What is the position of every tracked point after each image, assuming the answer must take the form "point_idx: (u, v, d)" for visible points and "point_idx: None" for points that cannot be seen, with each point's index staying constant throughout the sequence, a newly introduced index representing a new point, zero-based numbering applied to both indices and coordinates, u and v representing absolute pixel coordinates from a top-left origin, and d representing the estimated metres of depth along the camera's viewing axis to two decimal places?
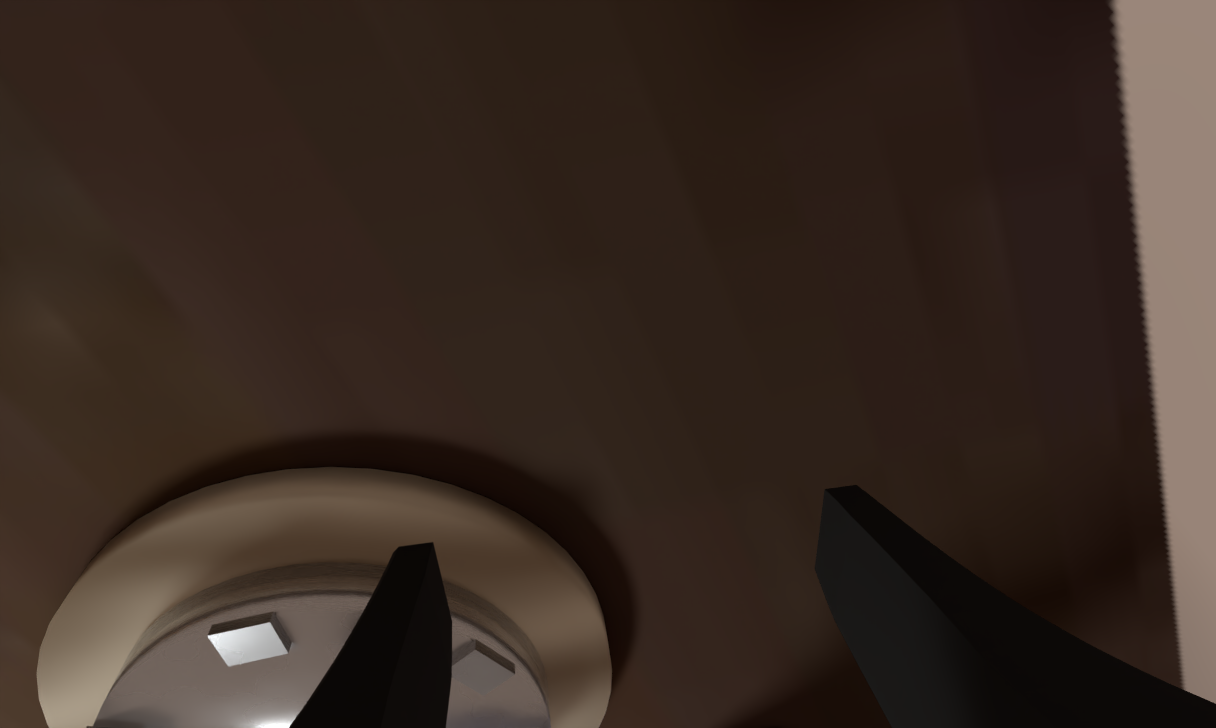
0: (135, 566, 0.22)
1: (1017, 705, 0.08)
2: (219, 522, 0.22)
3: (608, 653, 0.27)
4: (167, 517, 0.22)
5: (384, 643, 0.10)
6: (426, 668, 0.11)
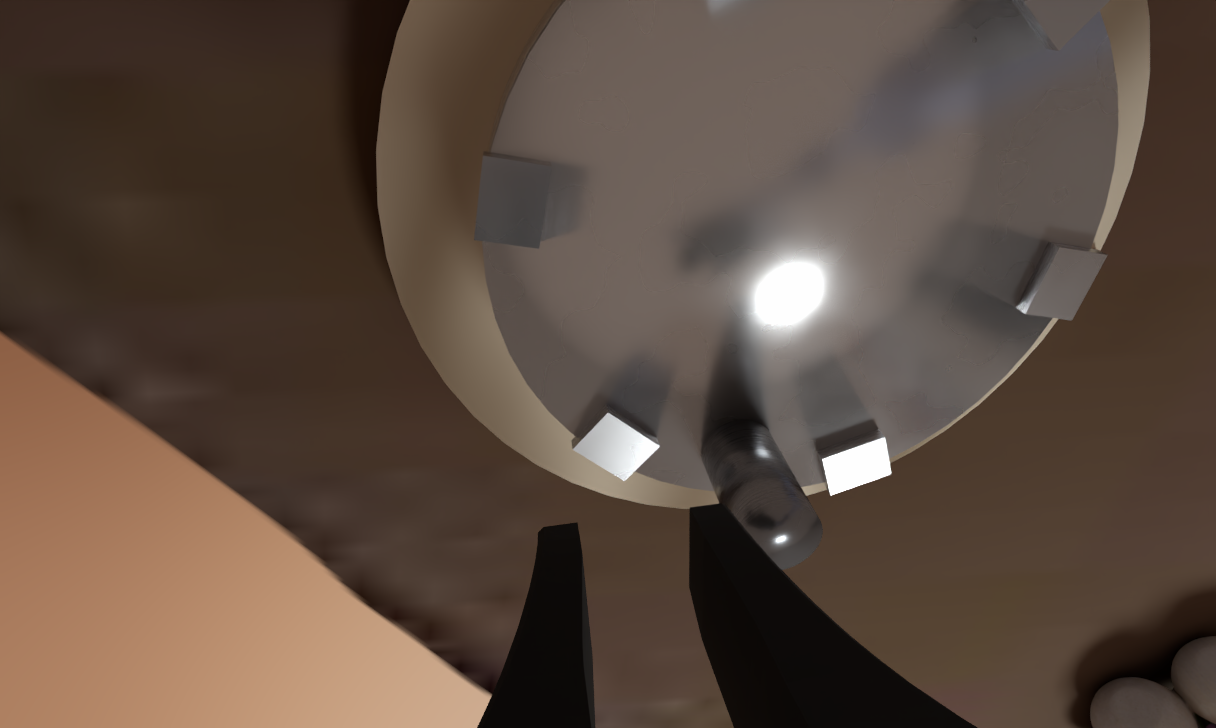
0: (428, 299, 0.19)
1: None
2: (396, 178, 0.17)
3: None
4: None
5: (563, 617, 0.10)
6: (587, 644, 0.11)
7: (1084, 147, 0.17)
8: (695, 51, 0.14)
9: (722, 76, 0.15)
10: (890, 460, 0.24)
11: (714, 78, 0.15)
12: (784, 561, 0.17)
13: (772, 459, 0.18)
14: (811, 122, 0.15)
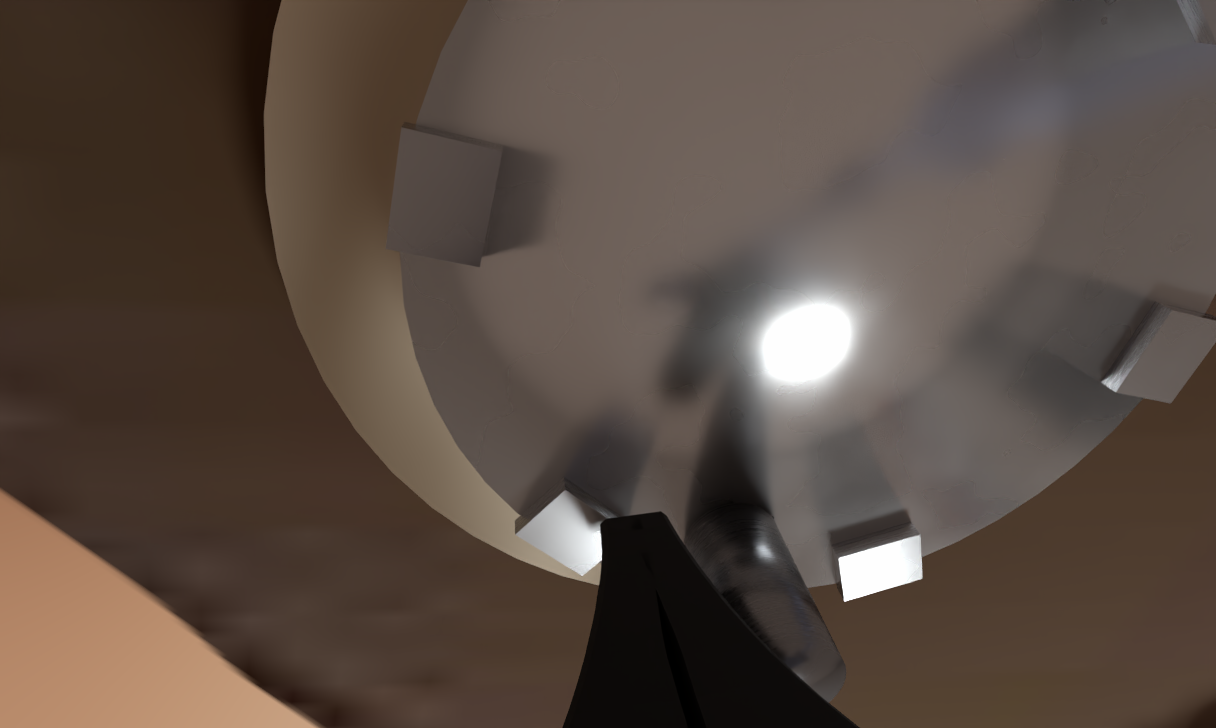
0: (335, 321, 0.14)
1: None
2: (292, 154, 0.12)
3: None
4: None
5: (639, 606, 0.10)
6: None
7: None
8: (720, 0, 0.10)
9: (755, 41, 0.10)
10: None
11: (744, 43, 0.10)
12: None
13: (780, 566, 0.13)
14: (871, 118, 0.11)
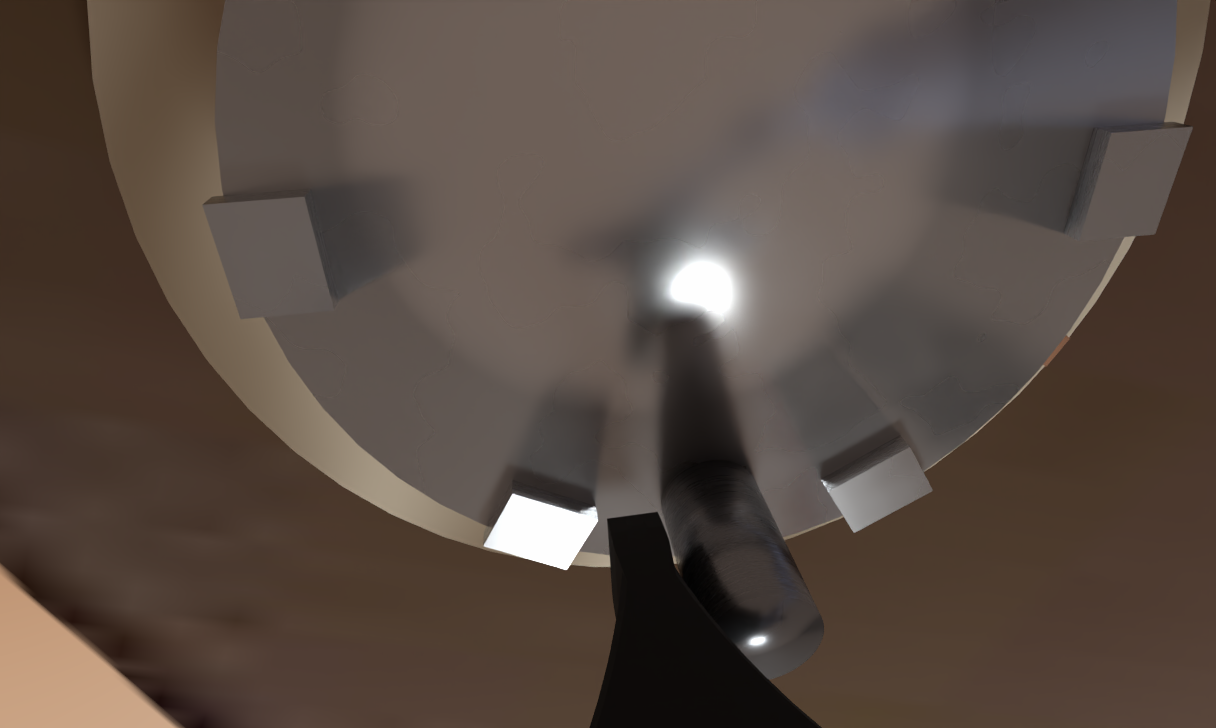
0: (156, 166, 0.12)
1: None
2: None
3: None
4: None
5: (662, 602, 0.10)
6: None
7: None
8: None
9: (512, 4, 0.10)
10: None
11: (502, 10, 0.10)
12: (780, 665, 0.12)
13: (742, 519, 0.13)
14: (671, 39, 0.10)
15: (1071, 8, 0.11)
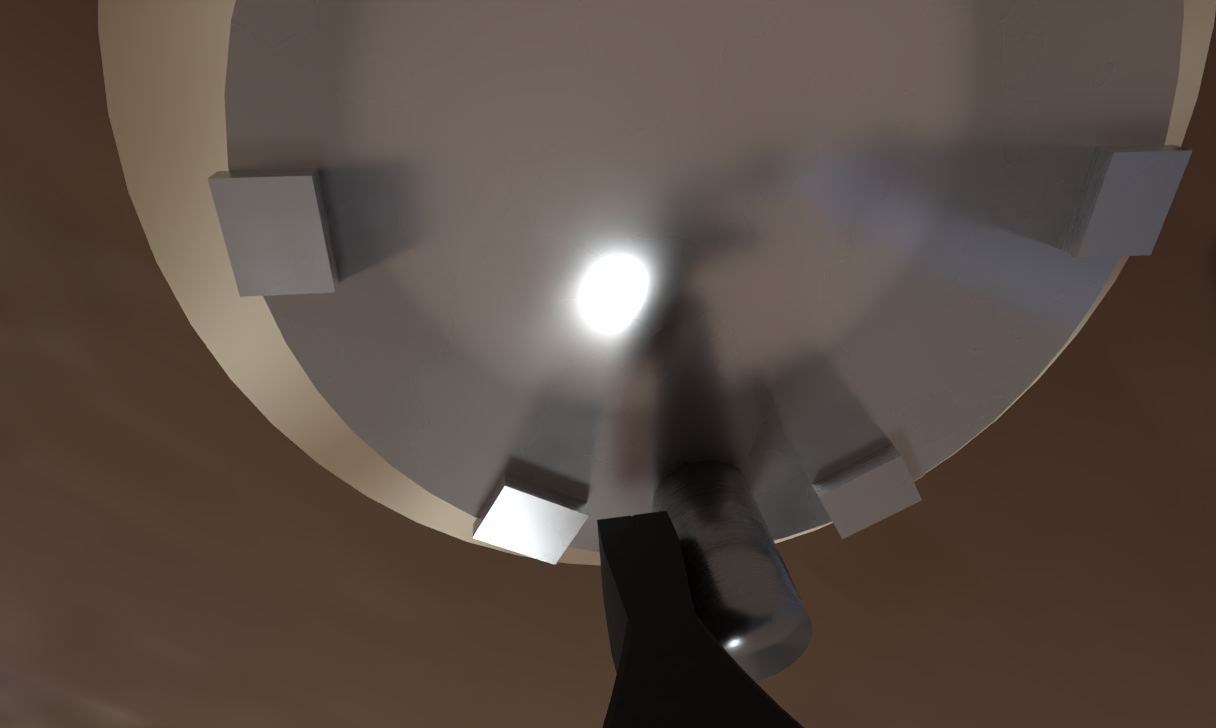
0: None
1: None
2: None
3: None
4: None
5: (673, 601, 0.10)
6: None
7: None
8: None
9: None
10: (591, 562, 0.18)
11: None
12: (767, 667, 0.12)
13: (734, 520, 0.13)
14: (687, 37, 0.10)
15: (1080, 27, 0.11)
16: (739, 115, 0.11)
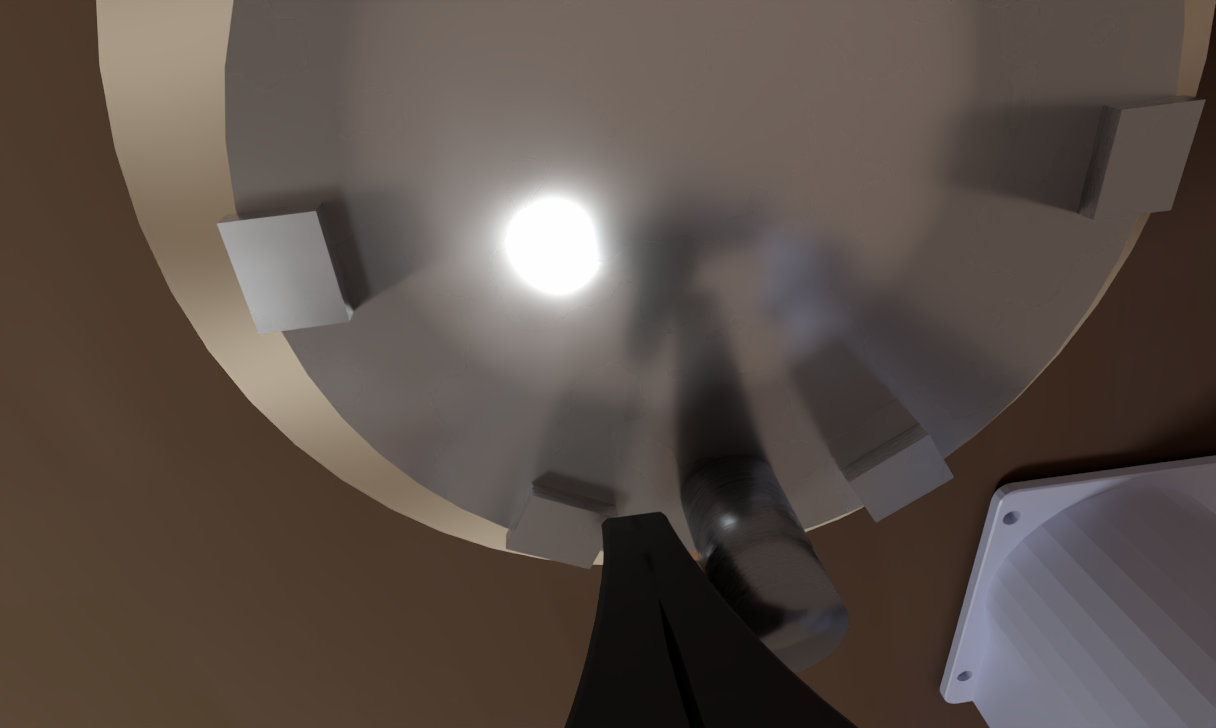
0: None
1: None
2: None
3: None
4: None
5: (640, 606, 0.10)
6: None
7: None
8: None
9: (512, 11, 0.10)
10: (368, 491, 0.16)
11: (502, 17, 0.10)
12: (806, 658, 0.12)
13: (762, 514, 0.13)
14: (672, 38, 0.10)
15: None
16: (732, 110, 0.11)
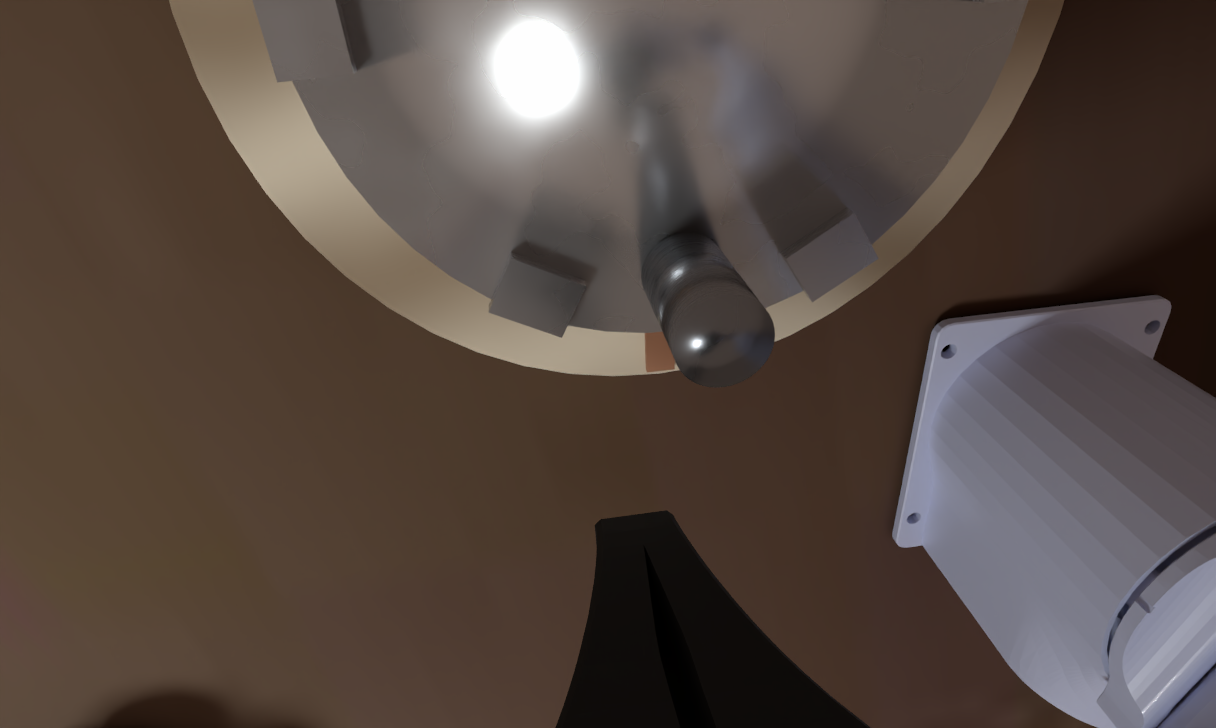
0: None
1: None
2: None
3: None
4: None
5: (633, 606, 0.10)
6: None
7: None
8: None
9: None
10: (367, 288, 0.18)
11: None
12: (740, 370, 0.14)
13: (706, 261, 0.15)
14: None
15: None
16: None
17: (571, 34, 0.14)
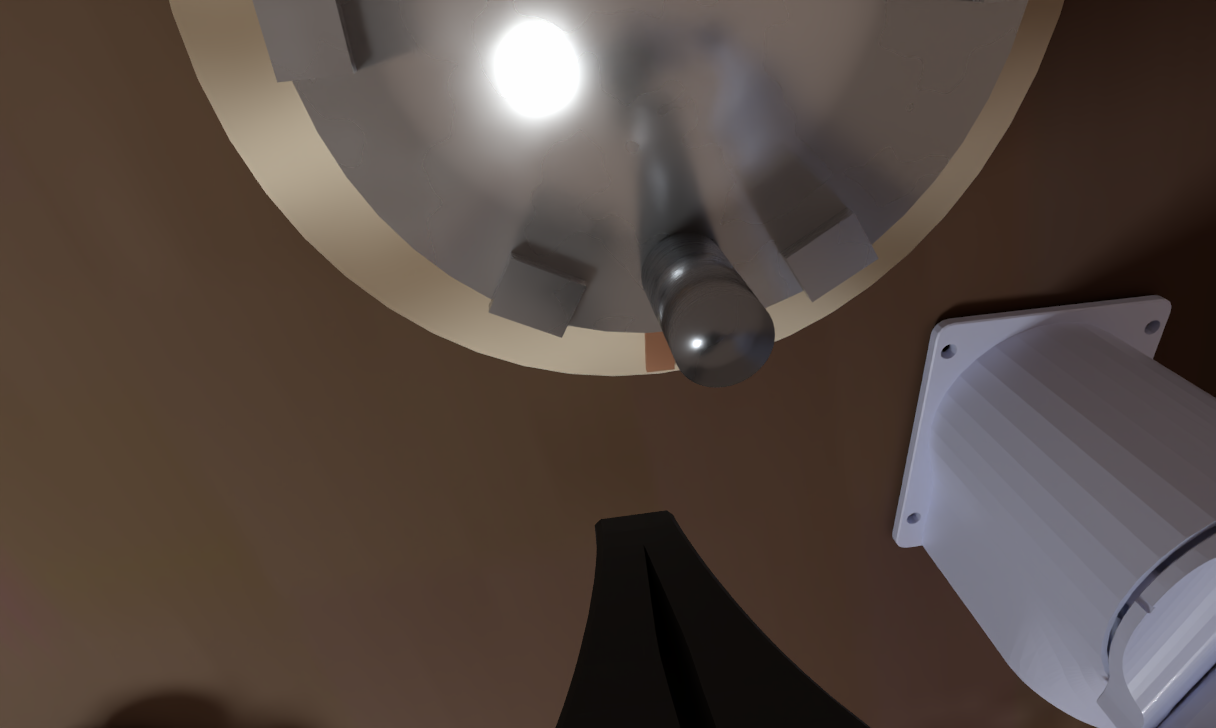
0: None
1: None
2: None
3: None
4: None
5: (633, 606, 0.10)
6: None
7: None
8: None
9: None
10: (367, 288, 0.18)
11: None
12: (740, 370, 0.14)
13: (706, 261, 0.15)
14: None
15: None
16: None
17: (571, 34, 0.14)
